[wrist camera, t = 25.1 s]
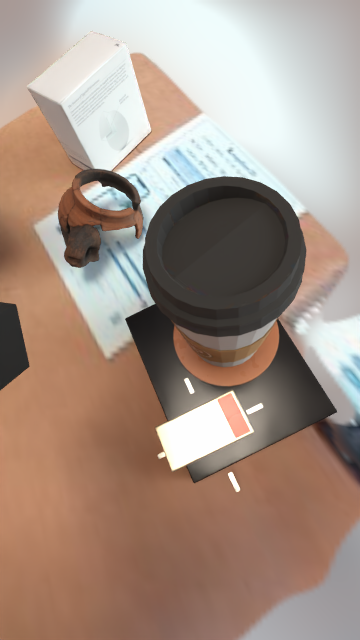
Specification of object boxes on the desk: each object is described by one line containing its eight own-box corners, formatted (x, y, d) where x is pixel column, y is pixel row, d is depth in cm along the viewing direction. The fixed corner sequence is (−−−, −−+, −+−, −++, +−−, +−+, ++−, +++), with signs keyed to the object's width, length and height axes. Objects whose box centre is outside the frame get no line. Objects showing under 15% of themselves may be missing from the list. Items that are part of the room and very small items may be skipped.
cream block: (187, 462, 25) (171, 473, 18) (174, 429, 26) (153, 427, 19) (247, 432, 25) (255, 432, 18) (232, 401, 26) (232, 388, 19)
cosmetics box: (120, 115, 45) (90, 27, 35) (152, 131, 43) (129, 42, 33) (69, 162, 43) (22, 83, 33) (100, 182, 41) (60, 103, 31)
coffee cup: (162, 331, 29) (101, 238, 15) (227, 276, 30) (226, 142, 16) (221, 400, 26) (213, 361, 12) (292, 337, 27) (357, 236, 13)
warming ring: (158, 314, 30) (157, 313, 30) (245, 271, 31) (245, 270, 30) (201, 405, 27) (200, 405, 26) (299, 356, 27) (300, 355, 27)
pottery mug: (71, 209, 41) (75, 150, 34) (140, 234, 43) (156, 183, 36) (36, 277, 34) (33, 220, 27) (120, 302, 36) (136, 255, 29)
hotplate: (116, 334, 33) (107, 326, 31) (240, 273, 33) (241, 260, 31) (186, 511, 26) (182, 519, 24) (341, 433, 27) (352, 433, 24)
